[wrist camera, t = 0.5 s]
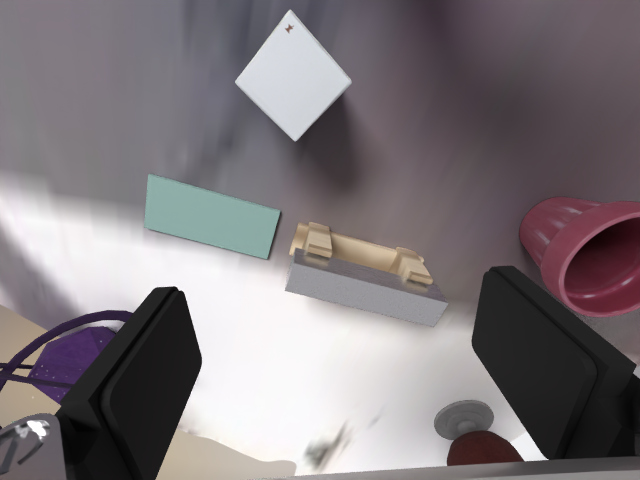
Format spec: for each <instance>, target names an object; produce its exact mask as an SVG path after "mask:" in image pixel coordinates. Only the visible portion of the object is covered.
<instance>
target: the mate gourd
mask: <svg viewBox="0 0 640 480" xmlns="http://www.w3.org/2000/svg"><path fill="white" fill-rule="evenodd" d="M493 420H494V416H493V412H492V411H491V409H490V408H489V406H487V405H486V404H485V403H482V402H479V401H474V400H465V401H459V402H456V403H453V404H450V405H448V406H446V407H445V408H443V409H442V410H441V411H440V412H439V413H438V414H437V415H436V417H435V420H434V427H435V429H436V432H437V433H438V434H439V435H440V436H441V437H443V438H446V439H449V440H454V441H453V443H452V444H451V446H450V450H449V454H448V457H447V466H458V465H475V464H492V463H508V462H525V461H524V460H523V459H522V457H521V456H520V455H519V453H518V452H517V450H516V449H515V448H514V447H513V446H512V445H511V444H510V443H509V442H508V441H507V440H505V439H504V438H502V437H500V436H498V435H497V434H495V433H493V432H490V431H486V430H487V429H488V428H489V427H490V426H491V424H492V423H493Z"/></svg>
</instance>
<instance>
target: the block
mask: <svg viewBox="0 0 640 480" xmlns="http://www.w3.org/2000/svg"><path fill="white" fill-rule="evenodd" d="M285 291H288V292H292V293H296V294H300V295H304V296H309V297H313V298H317V299H321V300H325V301H329V302H333V303H337V304H341V305H345V306H349V307H353V308H358V309H362V310H366V311H370V312H374V313H378V314H382V315H386V316H390V317H394V318H398V319H403V320H407V321H411V322H415V323H419V324H423V325H427V326H431V327H434V326H435V325H436V323H437V321H438V320H439V318H440V317H441V315H442V313H443V312H444V310H445V308H446V307H447V305H448V302H447V300H446V299H445V297H444V295H443V294H442V292H441V291H440V289H439V288H438V286H437V285H434V284H431V285H430V284H427V283H423V282H419V281H415V280H412V279H410V278H408V277H405V276H401V275H397V274H393V273H390V272H386V271H382V270H379V269H375V268H371V267H367V266H364V265H360V264H356V263H352V262H349V261H345V260H341V259H337V258H334V257H331V258H329V257H326V256H322V255H318V254H314V253H311V252H308V250H304V249H300V248H296V247H295V250H294V254H293V257H292V260H291V263H290V266H289V269H288V272H287V279H286V287H285Z"/></svg>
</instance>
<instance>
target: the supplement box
mask: <svg viewBox="0 0 640 480" xmlns="http://www.w3.org/2000/svg"><path fill="white" fill-rule="evenodd" d="M235 83H236V84H237V85H238V87H239V88H240V89H241V90H242V91H243V92H244V93H245V94H246V95H247V96H248V97H249V98H250V99H251V100H252V101H253V102H254V103H255V104H256V105H257V106H258V107H259V108H260V109H261V110H262V111H263V112H264V113H265V114H267V115H268V116H269V117H270V118H271V119H272V120H273V121H274V122H275V123H276V124H277V125H278V126H279V127H280V128H281V129H282V130H283V131H284V132H285V133H286V134H287V135H288V136H289V137H290V138H291V139H292V140H294V141H295V142H296V141H297V140H298V139H299V138H300V137H301V136H302V135H303V134H304V133H305V132H306V131H307V129H308V128H309V127H310V126H311V125H312V124H313V123H314V122H315V121H316V120H317V119H318V118H319V117H320V116H321V115H322V114H323V113H324V112H325V111H326V110H327V109H328V108H329V107H330V106H331V105H332V104H333V103H334V102H335V101H336V100H337V98H338V97H339V96H340V95H341V94H342V93H343V92H344V91H345V90H346V89H347V88H348V87H349V86H350V85H351V83H352V82H351V80H350V78H349V77H348V76H347V75H346V74H345V72H344V71H343V70H342V69H341V68H340V67H339V65H338V64H337V63H336V62H335V61H334V60H333V58H332V57H331V56H330V55H329V54H328V53H327V51H326V50H325V49H324V48H323V47H322V45H321V44H320V43H319V42H318V41H317V40H316V39H315V38H314V36H313V35H312V34H311V33H310V32H309V31H308V29H307V28H306V27H305V26H304V25H303V24H302V22H301V21H300V20H299V19H298V18H297V16H296V15H295V14H294V13H293V12H292V10H289V11H288V12H287V13H286V15H285V16H284V17H283V19H282V20H281V21H280V23H279V24H278V26H277V27H276V28H275V30H274V31H273V32H272V34H271V35H270V36H269V38H268V39H267V40H266V42H265V43H264V44H263V46H262V47H261V48H260V50H259V51H258V52H257V54H256V55H255V56H254V58H253V59H252V60H251V62H250V63H249V64H248V66H247V67H246V68H245V70H244V71H243V72H242V73H241V75H240V76H239V77H238V79H237V80H236V81H235Z"/></svg>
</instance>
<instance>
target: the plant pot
mask: <svg viewBox="0 0 640 480" xmlns="http://www.w3.org/2000/svg"><path fill="white" fill-rule="evenodd" d="M519 236H520V240H521V243H522V244H523V246H524V247H525V248H526V250H527V251H528V253H529V254H530V255H531V257H532V258H533V260H534V261H535V263H536V264H537V265H538V267H539V268H540V269H541V275H542V279H543V282H544V283H545V285H546V287H547V288H548V289H549V291H550V292H551V293H553V294H554V295H555V296H556V297H557V298H558V299H559V300H561V301H562V302H563V303H564V304H566V305H567V306H568V307H569V308H571V309H572V310H574V311H576V312H578V313H580V314H583V315H586V316H591V317H611V316H617V315H621V314H625V313H628V312H631V311H633V310H636V309H638V308H640V203H638V202H632V201H616V202H611V203H601V202H595V201H589V200H582V199H575V198H568V197H554V198H550V199H547V200H544V201H542V202H540V203H539V204H537V205H536V206H534V207H533V208H532V209H531V210H530V211H529V212H528V213H527V214H526V216H525V217H524V219H523V221H522V223H521V226H520V231H519Z"/></svg>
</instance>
